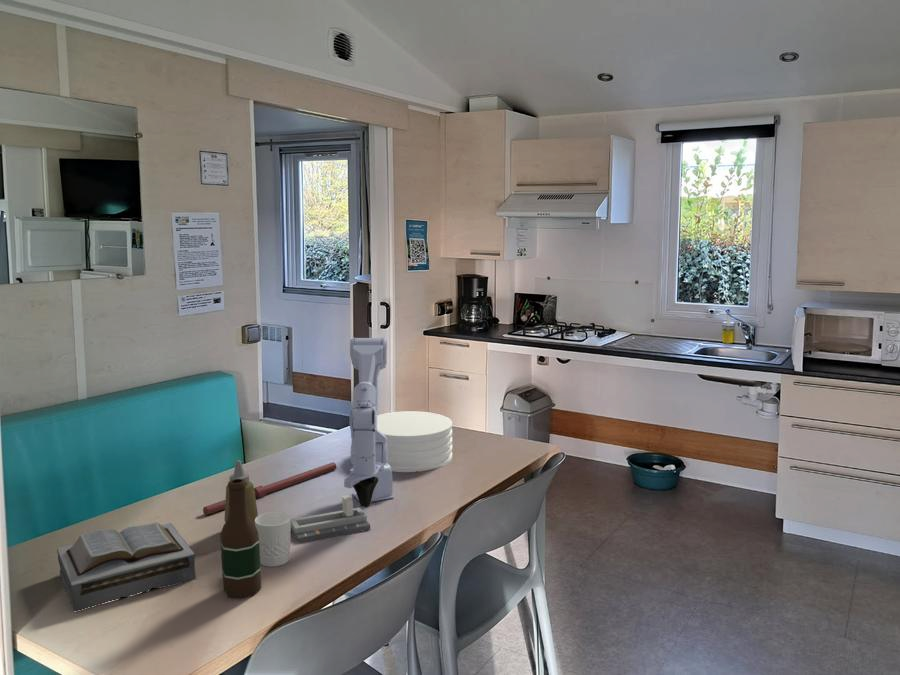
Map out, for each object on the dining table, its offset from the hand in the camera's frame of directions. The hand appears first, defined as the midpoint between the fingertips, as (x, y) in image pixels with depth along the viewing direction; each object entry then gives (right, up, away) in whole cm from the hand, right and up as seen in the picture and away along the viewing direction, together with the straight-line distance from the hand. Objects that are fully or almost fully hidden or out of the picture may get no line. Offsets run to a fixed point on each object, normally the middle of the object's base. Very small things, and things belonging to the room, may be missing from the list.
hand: (365, 505), depth 191 cm
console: (-9, -5, -3) cm, 10 cm away
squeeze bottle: (-30, -5, -5) cm, 31 cm away
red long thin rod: (-28, -1, +21) cm, 35 cm away
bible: (-48, -10, -28) cm, 57 cm away
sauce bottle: (-22, -10, -34) cm, 42 cm away
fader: (-4, -3, -1) cm, 5 cm away
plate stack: (+8, +4, +50) cm, 51 cm away
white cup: (-18, -8, -21) cm, 29 cm away
